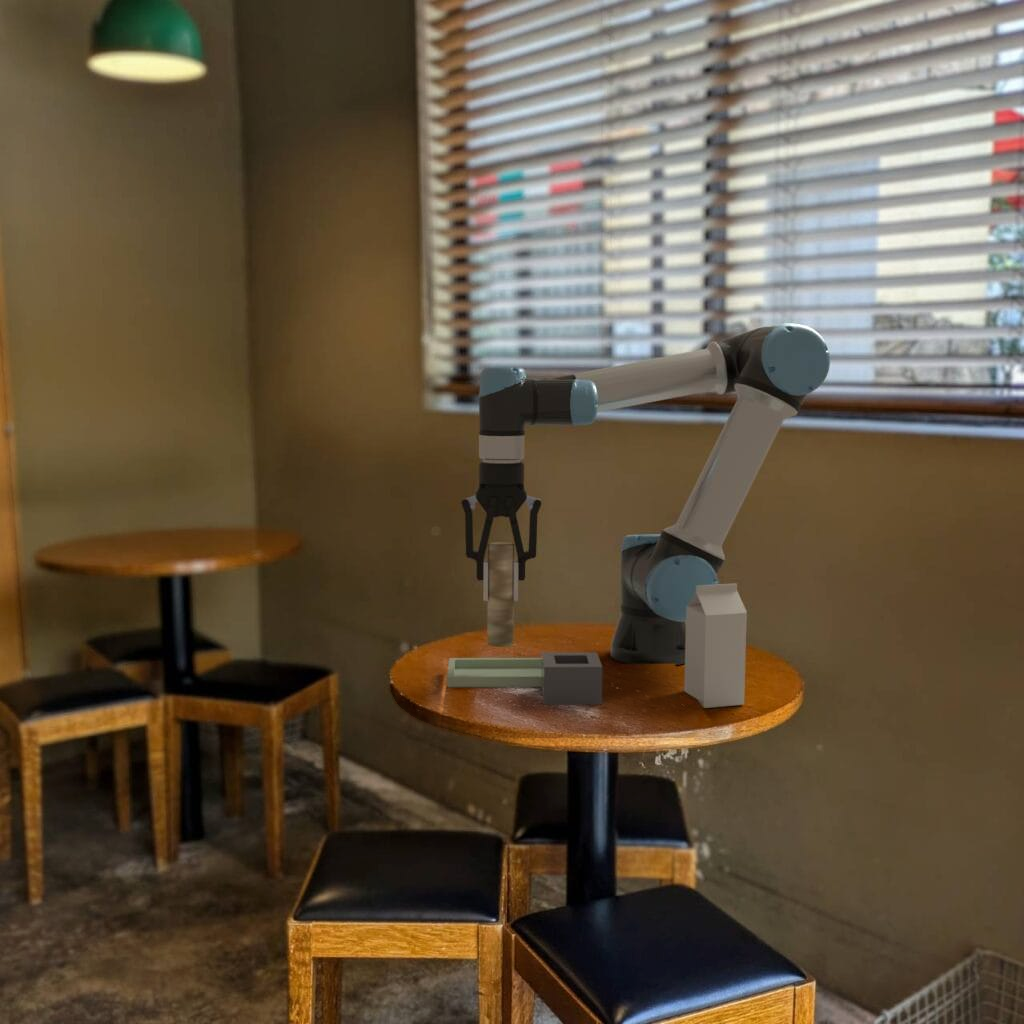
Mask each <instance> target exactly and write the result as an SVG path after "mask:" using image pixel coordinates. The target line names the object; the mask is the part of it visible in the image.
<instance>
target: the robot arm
mask: <svg viewBox="0 0 1024 1024" xmlns="http://www.w3.org/2000/svg"><path fill="white" fill-rule="evenodd" d="M830 366H831V356H830V352H829V349H828V346H827V343H826V341H825V340H824V338H823V337H822V335H820V333H818V332H817V331H816V330H815V329H813V328H812V327H809V326H806V325H804V324H803V325H802V324H797V323H792V322H791V323H789V322H788V323H787V322H785V323H781V324H778V325H773V326H762V327H757V328H754V329H753V330H752V329H751V330H749V331H746V332H743V333H740V334H738V335H735V336H732V337H728V338H723V339H720V340H719V339H718V340H715V341H711V342H709V344H708V345H707V346H706V348H703V349H698V350H692V351H688V352H687V351H686V352H682V353H676V354H672V355H666V356H661V357H657V358H651V359H645V360H641V361H635V362H631V363H629V362H628V363H626V364H625V363H624V364H619V365H615V366H609V367H603V368H599V369H592V370H588V371H583V372H577V373H573V374H569V375H562V376H558V377H552V378H548V377H547V378H541V379H531V378H527V375H526V371H525V369H524V368H523V367H508V366H507V367H505V366H504V367H503V366H501V367H499V366H498V367H496V366H495V367H493V366H492V367H490V366H489V367H484V368H483V369H482V370H481V372H480V374H479V375H480V378H479V393H478V400H479V401H478V420H479V421H478V423H479V424H478V425H479V428H478V429H479V430H478V431H479V433H478V434H479V435H478V458H479V459H481V460H482V461H480V462H479V464H478V488H477V491H476V492H475V493H476V494H475V495H472V496H469V497H462V499H461V503H460V504H461V506H462V509H463V512H464V519H465V523H464V524H465V526H464V527H465V528H464V529H465V556H466V557H467V558H468V559H472V560H474V561H475V563H476V580H477V581H483V582H482V583H483V585H482V586H483V588H482V589H483V595H482V597H483V598H482V599H483V602H488V559H485V555H486V552H487V549H488V544H489V543H488V542H489V538H490V534H491V529H492V525H493V522H494V518H498V517H505V518H508V519H509V523H510V527H511V533H512V536H513V541H514V548H515V550H516V551H515V552H516V554H517V559H514V598H513V600H514V602H518V601H519V581H525V578H526V562H527V561H528V560H531V559H535V558H536V556H537V541H538V540H537V538H538V537H537V536H538V533H537V532H538V515H539V514H538V513H539V511H540V509H541V506H542V501H541V498H535V497H533V496H531V495H527V491H526V489H525V464H524V462H522V461H521V460H523V459H524V458H525V429H526V428H525V427H526V425H527V426H528V425H529V426H534V425H538V426H539V425H540V426H573V427H577V426H587V425H591V424H593V423H594V422H595V420H596V418H597V415H598V413H601V412H606V411H611V410H617V409H622V408H627V407H634V406H638V405H642V404H648V403H653V402H654V403H655V402H658V401H659V402H660V401H664V400H669V399H675V398H679V397H684V396H690V395H696V394H701V393H706V392H711V391H714V392H715V393H716V394H717V395H725V394H728V393H736V396H737V397H736V398H737V399H736V402H735V404H734V406H733V407H732V409H731V412H730V414H729V416H728V418H727V420H726V422H725V423H724V425H723V428H722V430H721V432H720V434H719V436H718V438H717V439H716V442H715V444H714V446H713V447H712V450H711V452H710V454H709V456H708V458H707V459H706V462H705V464H704V466H703V469H702V470H701V473H700V475H699V477H698V478H697V480H696V483H695V485H694V487H693V489H692V490H691V493H690V495H689V497H688V499H687V501H686V503H685V505H684V507H683V509H682V511H681V513H680V514H679V517H678V519H677V521H676V523H674V524H673V525H671V526H667V527H665V528H663V529H662V531H661V533H657V534H655V533H653V534H650V533H649V534H628V535H625V536H624V537H623V539H622V542H621V549H620V559H621V560H620V562H621V563H620V565H621V566H620V615H619V618H618V620H617V621H618V622H617V624H616V627H615V630H614V633H613V636H612V639H611V642H610V657H611V658H612V659H613V660H615V661H617V662H621V663H623V664H628V665H635V664H636V665H637V664H638V665H641V664H642V665H643V664H644V665H651V664H654V665H655V664H656V665H657V664H660V665H663V664H667V665H668V664H669V665H670V664H671V665H672V664H673V665H675V666H678V665H683V664H684V665H685V642H686V606H687V604H688V603H689V602H690V600H691V599H692V597H693V596H694V595H695V593H696V586H700V585H718V584H719V580H718V575H719V572H720V570H721V568H722V567H723V564H724V562H725V561H726V557H725V556H726V555H725V554H724V550H723V544H724V543H725V540H726V537H727V536H728V533H729V532H730V530H731V527H732V526H733V524H734V522H735V520H736V517H737V516H738V513H739V511H740V509H741V508H742V506H743V503H744V502H745V499H746V497H747V495H748V493H749V491H750V489H751V487H752V485H753V483H754V481H755V480H756V477H757V475H758V473H759V471H760V469H761V467H762V465H763V463H764V461H765V459H766V457H767V455H768V453H769V451H770V449H771V447H772V445H773V443H774V441H775V440H776V436H777V434H778V433H779V431H780V429H781V427H782V424H783V423H784V421H785V420H786V419H789V418H791V417H795V416H797V415H798V413H799V411H800V409H801V407H802V405H803V403H804V401H805V399H806V397H807V395H808V394H811V393H813V392H814V391H816V390H817V389H818V388H819V387H820V386H821V385H822V384H823V383H824V382H825V380H826V379H827V376H828V374H829V370H830ZM477 502H478V503H479V505H480V506H481V508H483V510H484V511H485V513H486V514H485V519H484V524H483V528H482V532H481V537H480V540H479V545H478V549H477V551H476V550H474V513H473V510H475V509H476V503H477ZM525 502H526V504H527V505H526V507H527V509H528V510H529V522H528V523H529V524H528V527H529V528H528V550H526V551H525V550H524V546H523V541H522V536H521V532H520V526H519V521H518V518H517V513H518V511H519V510H520V508H521V507H522V506H523V504H524V503H525Z"/></svg>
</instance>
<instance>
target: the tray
mask: <svg viewBox="0 0 1024 1024" xmlns="http://www.w3.org/2000/svg"><path fill="white" fill-rule="evenodd" d="M447 667H448V668H447V674H446V688H542V657H449V661H448V666H447Z"/></svg>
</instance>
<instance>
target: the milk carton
mask: <svg viewBox="0 0 1024 1024" xmlns="http://www.w3.org/2000/svg"><path fill="white" fill-rule="evenodd" d="M742 600H743V599H742V598H741V596H740V594H739V592H738V583H723V584H721V583H720V584H719V583H718V585H700V586H696V593H695V595H694V596H693V597H692V599H691V600H690V602H689V603H688V604H687V606H686V621H685V623H686V642H685V663H684V690H683V691H684V692H685V693H687V694H688V695H690V696H691V697H693V698H694V699H697V701H698V703H699V704H700V706H701V707H702V708H703V709H709V708H711V709H712V708H719V707H720V708H721V707H731V706H743V705H744V704H745V689H746V688H745V683H746V681H745V680H746V679H745V678H746V655H747V654H746V653H747V648H746V647H747V620H748V619H747V617H748V615H747V614H748V612H747V609H746V607H745V605H744V603H743V601H742Z"/></svg>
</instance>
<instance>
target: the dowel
mask: <svg viewBox="0 0 1024 1024" xmlns="http://www.w3.org/2000/svg"><path fill="white" fill-rule="evenodd" d="M487 560H488V601H487V622H486V623H487V627H486V628H487V629H486V630H487V632H486V633H487V637H486V643H487V645H488V646H491V647H496V648H497V647H498V648H506V647H507V648H508V647H511V646H513V645H514V630H515V629H514V627H515V625H514V624H515V623H514V622H515V621H514V620H515V618H514V615H515V612H514V611H515V609H514V608H515V607H514V606H515V603H514V602H515V601H514V600H513V598H514V560H515V543H512V542H504V541H503V542H501V541H499V542H489V543H487Z"/></svg>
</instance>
